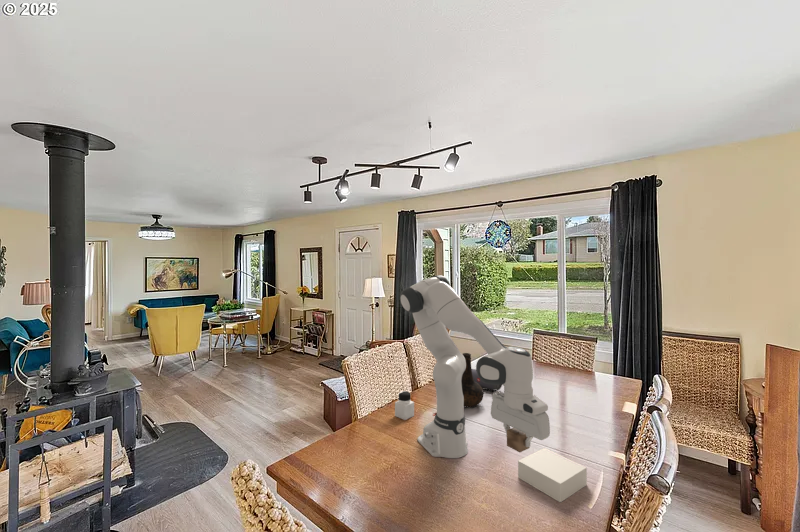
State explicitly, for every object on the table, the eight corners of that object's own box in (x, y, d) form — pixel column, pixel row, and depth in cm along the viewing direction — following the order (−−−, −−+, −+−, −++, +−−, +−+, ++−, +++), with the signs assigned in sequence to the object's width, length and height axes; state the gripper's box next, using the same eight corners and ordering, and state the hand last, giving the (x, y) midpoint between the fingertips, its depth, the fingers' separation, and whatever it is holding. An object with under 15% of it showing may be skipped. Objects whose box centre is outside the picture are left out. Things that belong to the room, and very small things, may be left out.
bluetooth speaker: (463, 384, 223) (463, 369, 223) (472, 381, 230) (472, 366, 230) (494, 394, 207) (494, 377, 207) (502, 390, 213) (502, 374, 213)
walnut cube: (506, 445, 112) (506, 430, 112) (516, 441, 115) (516, 426, 115) (519, 452, 108) (519, 436, 108) (529, 447, 111) (529, 432, 111)
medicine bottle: (414, 415, 176) (414, 392, 176) (405, 420, 171) (405, 396, 171) (404, 411, 181) (404, 388, 181) (394, 416, 176) (394, 392, 176)
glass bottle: (478, 398, 200) (478, 349, 200) (487, 411, 182) (487, 357, 182) (448, 398, 199) (448, 349, 200) (453, 411, 182) (453, 357, 182)
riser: (518, 477, 124) (518, 460, 124) (544, 463, 133) (544, 447, 133) (560, 502, 111) (560, 483, 111) (586, 485, 120) (586, 467, 120)
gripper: (486, 391, 119) (486, 431, 119) (540, 411, 102) (540, 459, 102) (499, 387, 122) (498, 427, 122) (552, 407, 105) (552, 452, 105)
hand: (518, 441), depth 112 cm, fingers closed on walnut cube, 5 cm apart
